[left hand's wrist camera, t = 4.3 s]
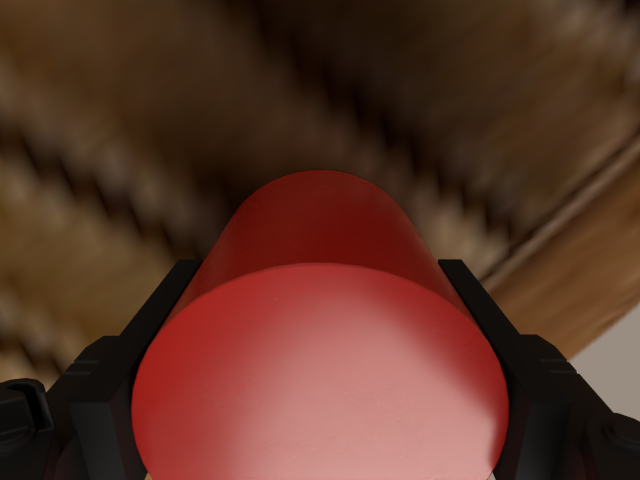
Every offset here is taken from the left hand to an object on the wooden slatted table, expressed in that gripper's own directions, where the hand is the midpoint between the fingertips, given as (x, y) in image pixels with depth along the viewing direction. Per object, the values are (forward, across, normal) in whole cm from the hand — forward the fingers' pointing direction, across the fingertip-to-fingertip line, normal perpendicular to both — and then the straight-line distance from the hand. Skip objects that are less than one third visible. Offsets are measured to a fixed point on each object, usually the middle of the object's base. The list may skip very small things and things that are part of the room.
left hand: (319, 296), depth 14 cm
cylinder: (+2, 0, 0) cm, 2 cm away
